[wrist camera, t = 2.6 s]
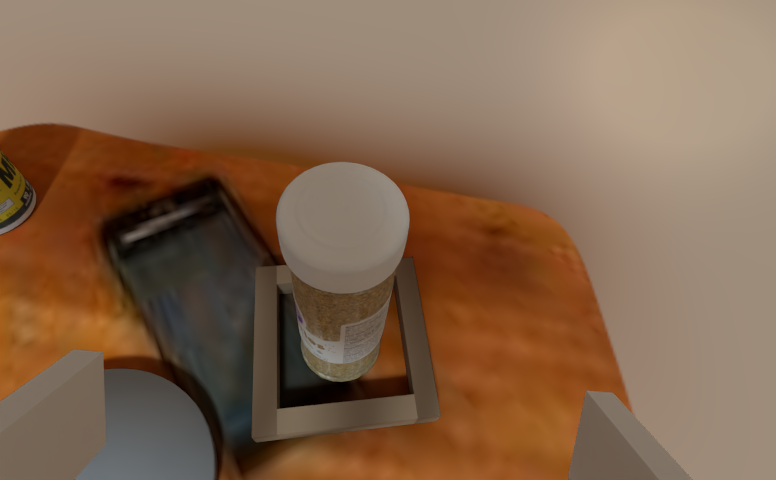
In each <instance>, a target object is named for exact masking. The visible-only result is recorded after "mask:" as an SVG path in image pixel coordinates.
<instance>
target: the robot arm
mask: <svg viewBox="0 0 776 480" xmlns="http://www.w3.org/2000/svg"><path fill="white" fill-rule="evenodd" d="M105 444H106V420H105V390H104V360H103V352H97V351H85V350H72V351H71V352H70V353H68V354H67V355H65V356H64V357H63V358H61V359H60V360H58V361H57V362H55V363H54V364H53V365H51V366H50V367H48V368H47V369H46V370H44V371H43V372H41V373H40V374H38V375H37V376H36V377H34V378H33V379H31V380H30V381H29V382H27V383H26V384H24V385H23V386H21V387H20V388H19V389H17V390H16V391H14V392H13V393H12V394H10V395H9V396H7V397H6V398H4V399H3V400H2V401H0V480H74V479H75V478H76V477H77V476H78V475H79V474H80V473H81V471H82V470H83V469H84V468H85V467H86V466H87V465H88V463H89V462H90V461H91V460H92V459H93V458H94V457H95V456H96V454H97V453H98V452H99V451H100V450H101V449H102V448H103V446H104V445H105ZM568 477H569V479H570V480H692V479H691V477H690V476H689V475H688V474H687V473H686V472H685V471H684V470H683V469H682V468H681V467H680V465H679V464H678V463H677V462H676V461H675V460H674V459H673V458H672V457H671V456H670V455H669V454H668V452H667V451H666V450H665V449H664V448H663V447H662V446H661V445H660V444H659V443H658V441H657V440H656V439H655V438H654V437H653V436H652V435H651V434H650V433H649V432H648V431H647V429H646V428H645V427H644V426H643V425H642V424H641V423H640V422H639V421H638V420H637V419H636V417H635V416H634V415H633V414H632V413H631V412H630V411H629V410H628V409H627V408H626V407H625V405H624V404H623V403H622V402H621V401H620V400H619V399H618V398H617V397H616V396H615V395H614V393H608V392H596V391H586V394H585V398H584V403H583V408H582V413H581V417H580V422H579V427H578V432H577V436H576V441H575V446H574V451H573V455H572V460H571V465H570V470H569V474H568Z"/></svg>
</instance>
